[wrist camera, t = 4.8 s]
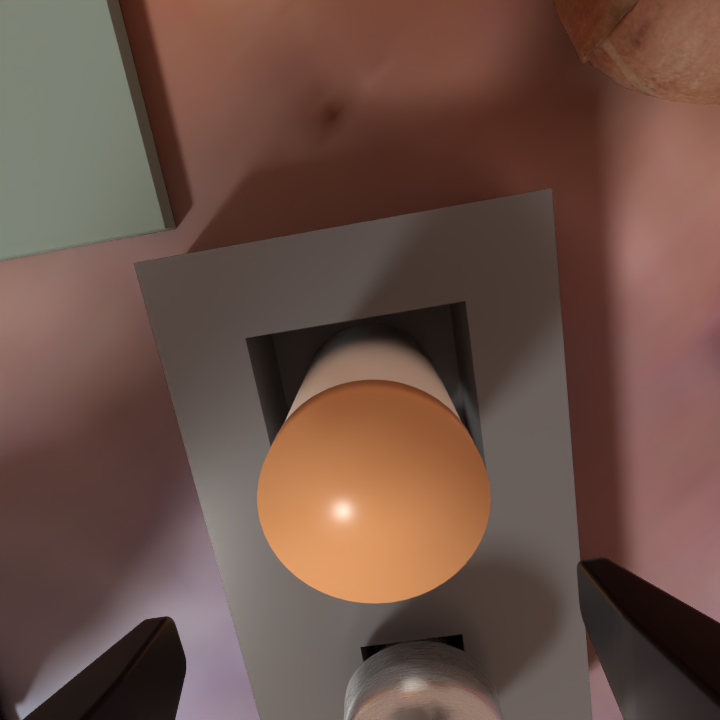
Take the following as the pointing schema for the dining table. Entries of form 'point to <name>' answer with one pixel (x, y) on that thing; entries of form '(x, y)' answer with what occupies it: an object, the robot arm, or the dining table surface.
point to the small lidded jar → (373, 473)
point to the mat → (73, 130)
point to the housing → (470, 398)
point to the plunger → (421, 684)
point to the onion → (650, 44)
